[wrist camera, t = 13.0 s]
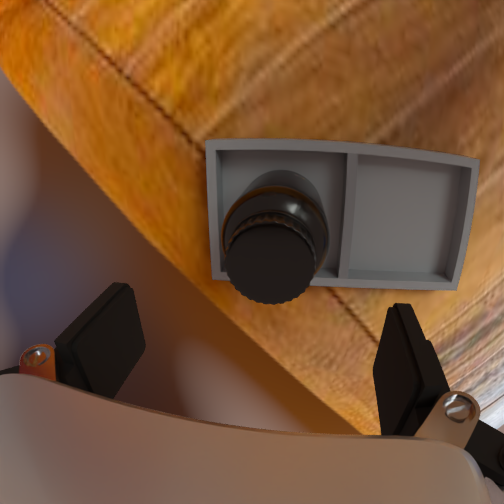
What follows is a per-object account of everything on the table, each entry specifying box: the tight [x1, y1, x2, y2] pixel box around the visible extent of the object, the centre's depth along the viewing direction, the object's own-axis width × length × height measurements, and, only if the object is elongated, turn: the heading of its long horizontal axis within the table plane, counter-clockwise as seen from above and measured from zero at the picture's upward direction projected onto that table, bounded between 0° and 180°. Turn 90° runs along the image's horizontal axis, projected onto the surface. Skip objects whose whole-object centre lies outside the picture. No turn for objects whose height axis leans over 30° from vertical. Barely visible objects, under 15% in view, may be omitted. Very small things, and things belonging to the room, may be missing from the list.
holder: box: [205, 138, 480, 290], centre depth 26 cm, size 23×12×2 cm, turn 90°
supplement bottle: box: [221, 170, 330, 305], centre depth 22 cm, size 7×7×12 cm
